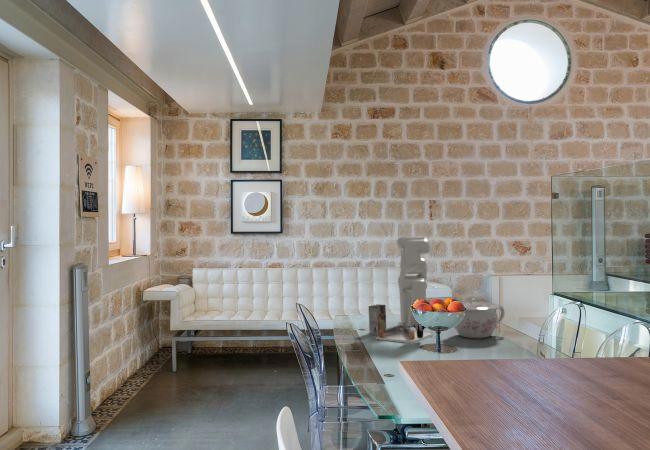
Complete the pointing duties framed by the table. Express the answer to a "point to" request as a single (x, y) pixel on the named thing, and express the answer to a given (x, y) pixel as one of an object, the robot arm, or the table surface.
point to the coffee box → (377, 318)
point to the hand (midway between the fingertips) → (420, 337)
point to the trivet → (404, 337)
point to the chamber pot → (479, 319)
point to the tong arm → (409, 332)
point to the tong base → (391, 330)
